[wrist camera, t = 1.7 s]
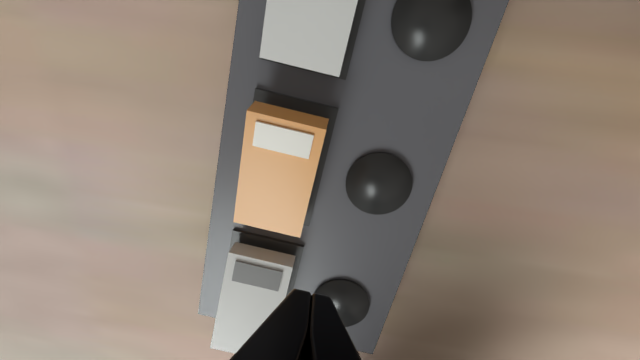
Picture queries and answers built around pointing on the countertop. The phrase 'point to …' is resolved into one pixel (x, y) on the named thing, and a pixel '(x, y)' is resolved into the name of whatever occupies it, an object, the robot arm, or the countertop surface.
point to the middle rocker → (278, 167)
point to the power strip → (356, 147)
